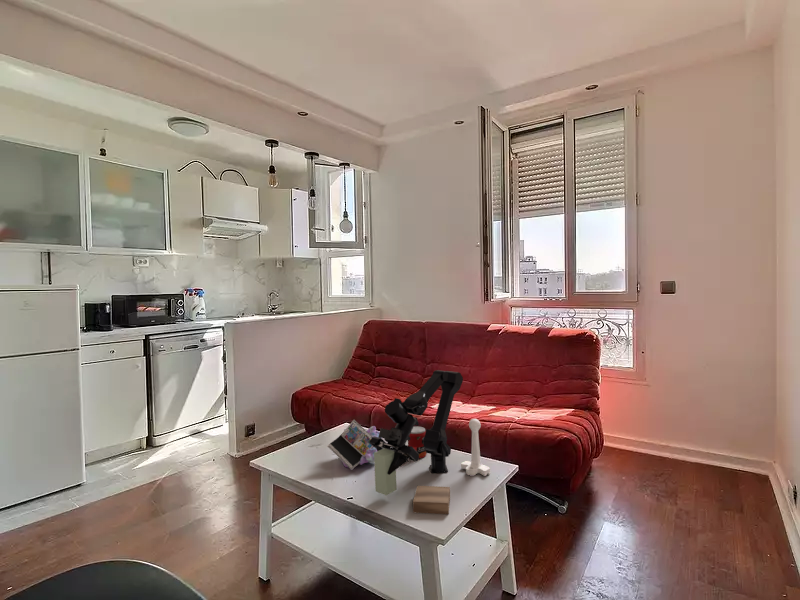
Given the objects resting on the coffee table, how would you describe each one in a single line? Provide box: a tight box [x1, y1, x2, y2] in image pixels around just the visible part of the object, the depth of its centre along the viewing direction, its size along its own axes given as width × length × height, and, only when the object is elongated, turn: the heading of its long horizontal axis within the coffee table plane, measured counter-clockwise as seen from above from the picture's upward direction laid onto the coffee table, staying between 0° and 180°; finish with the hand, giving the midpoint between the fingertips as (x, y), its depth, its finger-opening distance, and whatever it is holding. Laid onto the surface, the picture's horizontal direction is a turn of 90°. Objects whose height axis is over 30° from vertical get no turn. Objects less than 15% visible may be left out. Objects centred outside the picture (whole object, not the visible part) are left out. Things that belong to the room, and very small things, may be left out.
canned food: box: [407, 425, 428, 459], centre depth 181 cm, size 8×8×11 cm
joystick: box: [460, 418, 491, 477], centre depth 162 cm, size 11×8×20 cm
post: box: [374, 448, 397, 496], centre depth 143 cm, size 5×5×13 cm
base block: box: [412, 485, 451, 515], centre depth 138 cm, size 11×11×4 cm
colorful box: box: [326, 419, 383, 471], centre depth 176 cm, size 20×22×18 cm
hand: (382, 472), depth 142 cm, fingers closed on post, 5 cm apart
